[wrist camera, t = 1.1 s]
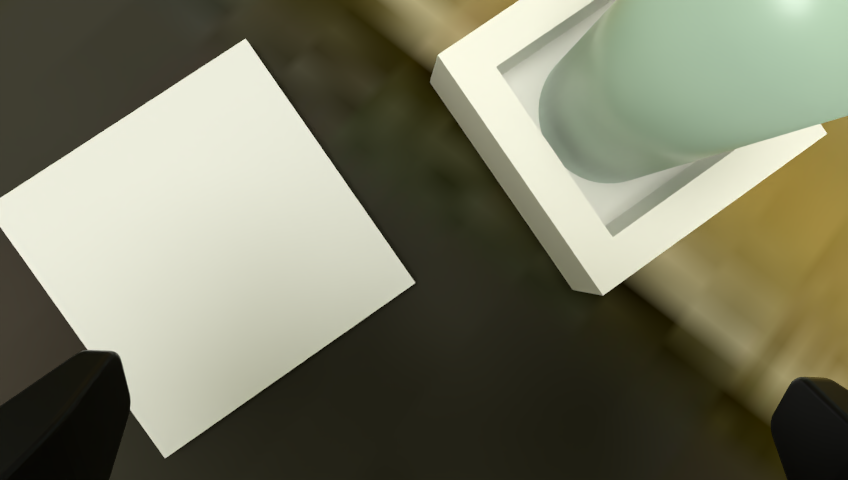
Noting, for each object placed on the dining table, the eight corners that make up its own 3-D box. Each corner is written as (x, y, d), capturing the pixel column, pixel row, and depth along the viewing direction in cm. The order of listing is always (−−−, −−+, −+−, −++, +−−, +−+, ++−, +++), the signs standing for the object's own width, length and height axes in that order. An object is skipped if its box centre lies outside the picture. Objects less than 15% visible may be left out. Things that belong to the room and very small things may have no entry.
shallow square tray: (768, 149, 23) (826, 133, 20) (572, 290, 22) (602, 295, 19) (631, -54, 22) (669, -101, 19) (429, 82, 22) (437, 54, 19)
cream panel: (414, 282, 22) (415, 283, 21) (173, 450, 21) (164, 458, 20) (250, 46, 21) (245, 38, 21) (1, 209, 21) (-14, 206, 20)
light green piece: (703, 132, 22) (1028, 8, 11) (591, 211, 22) (811, 166, 11) (624, 15, 22) (873, -228, 11) (510, 93, 21) (648, -77, 10)
